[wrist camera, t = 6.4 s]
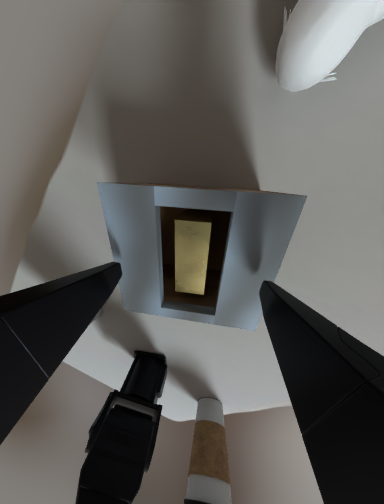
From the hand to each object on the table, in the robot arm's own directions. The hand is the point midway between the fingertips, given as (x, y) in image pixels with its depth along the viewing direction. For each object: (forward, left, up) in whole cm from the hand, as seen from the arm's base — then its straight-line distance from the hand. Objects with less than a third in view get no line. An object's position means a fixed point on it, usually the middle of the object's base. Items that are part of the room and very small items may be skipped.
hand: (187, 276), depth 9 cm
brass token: (0, 0, -8) cm, 8 cm away
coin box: (0, 0, -8) cm, 8 cm away
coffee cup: (+6, -43, -8) cm, 44 cm away
